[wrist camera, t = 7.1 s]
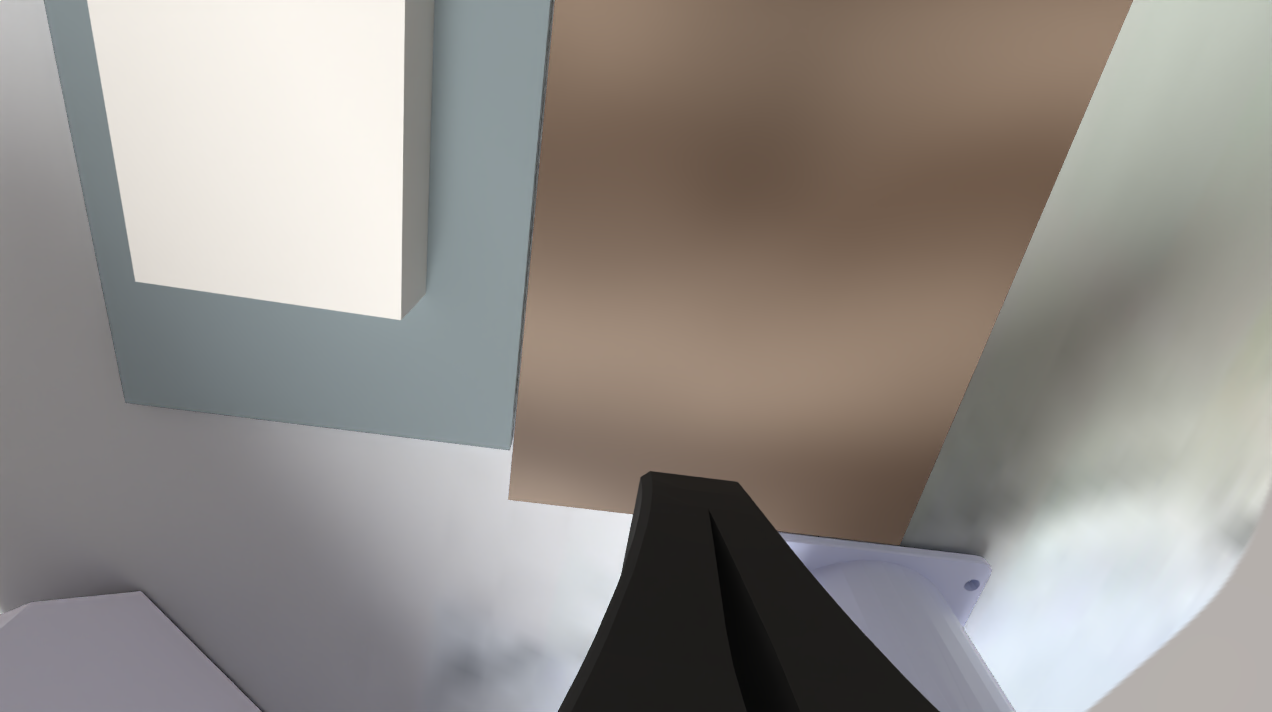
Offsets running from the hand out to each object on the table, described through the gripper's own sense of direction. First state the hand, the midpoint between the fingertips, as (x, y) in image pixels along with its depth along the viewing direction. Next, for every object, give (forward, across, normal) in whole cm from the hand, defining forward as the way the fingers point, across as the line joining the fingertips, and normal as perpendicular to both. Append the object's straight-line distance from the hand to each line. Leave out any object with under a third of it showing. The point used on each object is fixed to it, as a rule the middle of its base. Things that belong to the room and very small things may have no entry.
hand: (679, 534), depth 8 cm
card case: (+7, +9, -4) cm, 12 cm away
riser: (+9, -2, -4) cm, 10 cm away
